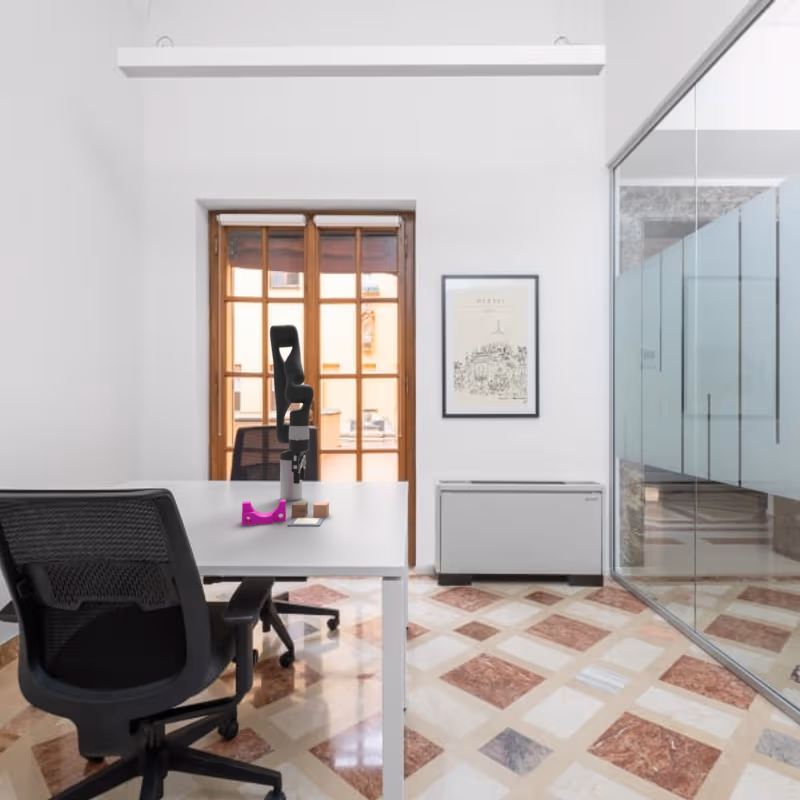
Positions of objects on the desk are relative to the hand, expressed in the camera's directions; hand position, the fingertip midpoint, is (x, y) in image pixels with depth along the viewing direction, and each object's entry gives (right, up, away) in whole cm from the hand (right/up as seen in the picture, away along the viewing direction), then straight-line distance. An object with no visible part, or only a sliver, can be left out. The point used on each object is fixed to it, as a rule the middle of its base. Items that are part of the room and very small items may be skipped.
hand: (299, 481), depth 198 cm
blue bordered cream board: (+5, -13, -10) cm, 17 cm away
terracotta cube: (+8, -13, 0) cm, 16 cm away
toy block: (-11, -14, -9) cm, 19 cm away
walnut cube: (0, -13, 0) cm, 13 cm away
